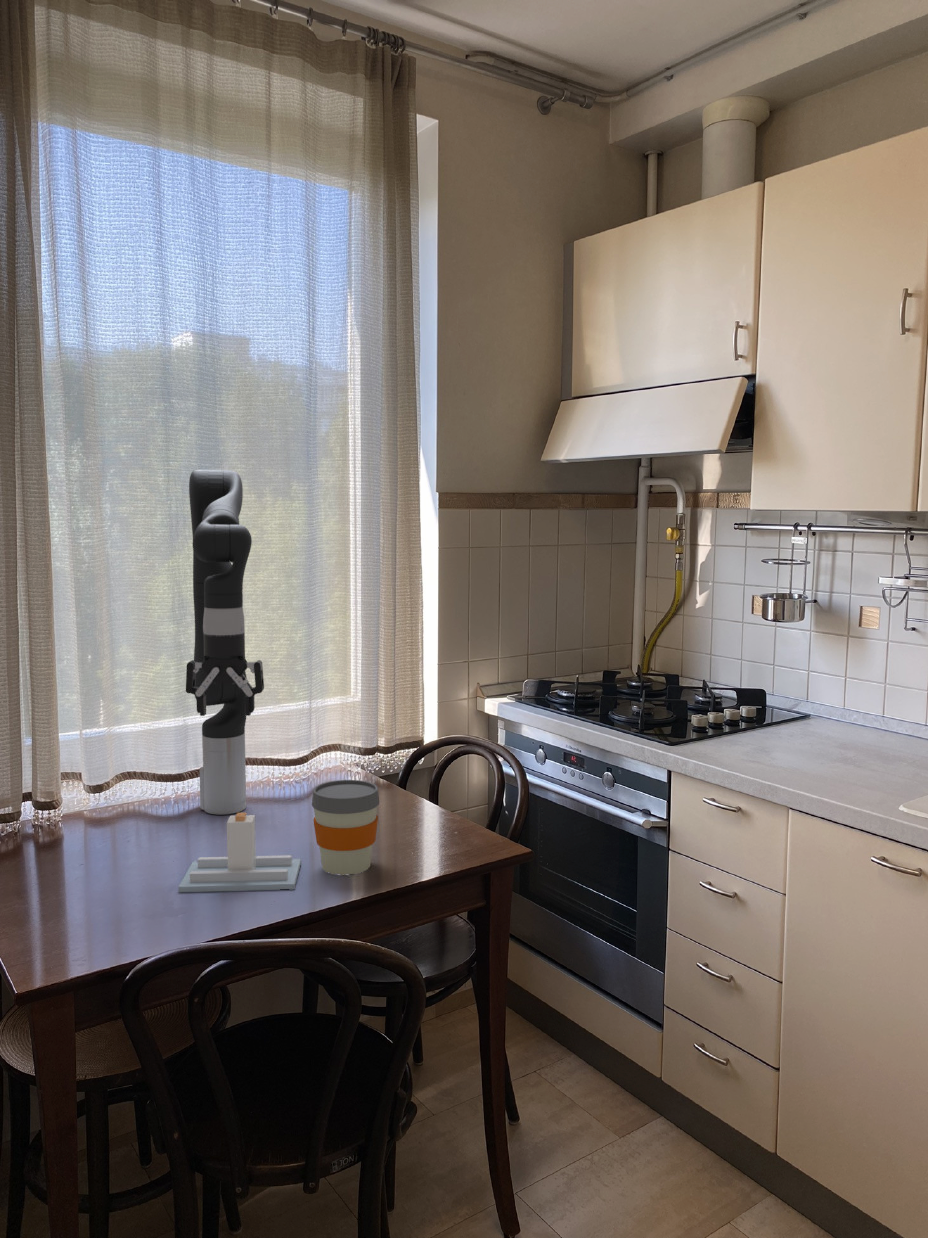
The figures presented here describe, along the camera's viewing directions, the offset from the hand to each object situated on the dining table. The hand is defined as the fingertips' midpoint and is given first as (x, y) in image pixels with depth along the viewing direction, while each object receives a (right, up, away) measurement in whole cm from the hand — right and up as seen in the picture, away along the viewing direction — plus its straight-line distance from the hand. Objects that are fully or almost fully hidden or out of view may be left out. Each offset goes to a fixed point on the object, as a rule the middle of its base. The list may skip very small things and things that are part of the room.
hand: (225, 714), depth 175 cm
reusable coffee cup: (+23, -29, -2) cm, 37 cm away
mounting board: (+5, -29, -8) cm, 30 cm away
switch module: (+5, -28, -8) cm, 29 cm away
